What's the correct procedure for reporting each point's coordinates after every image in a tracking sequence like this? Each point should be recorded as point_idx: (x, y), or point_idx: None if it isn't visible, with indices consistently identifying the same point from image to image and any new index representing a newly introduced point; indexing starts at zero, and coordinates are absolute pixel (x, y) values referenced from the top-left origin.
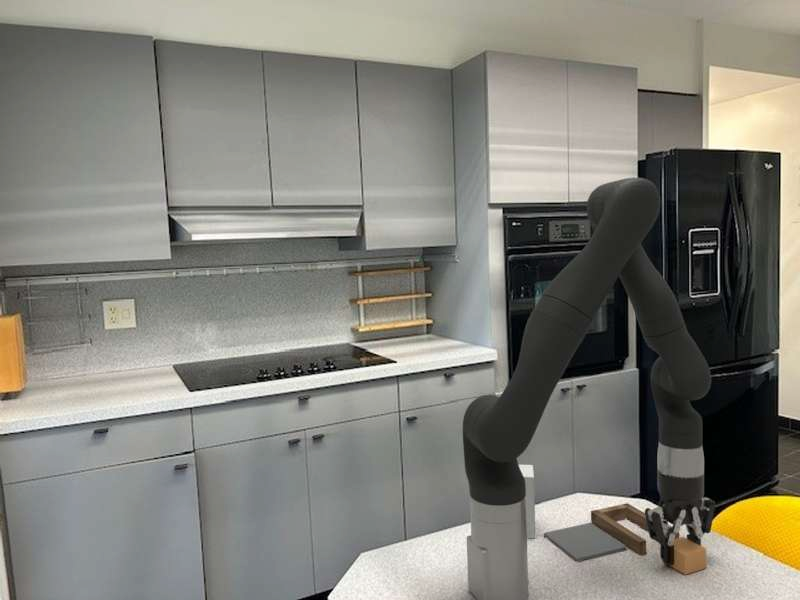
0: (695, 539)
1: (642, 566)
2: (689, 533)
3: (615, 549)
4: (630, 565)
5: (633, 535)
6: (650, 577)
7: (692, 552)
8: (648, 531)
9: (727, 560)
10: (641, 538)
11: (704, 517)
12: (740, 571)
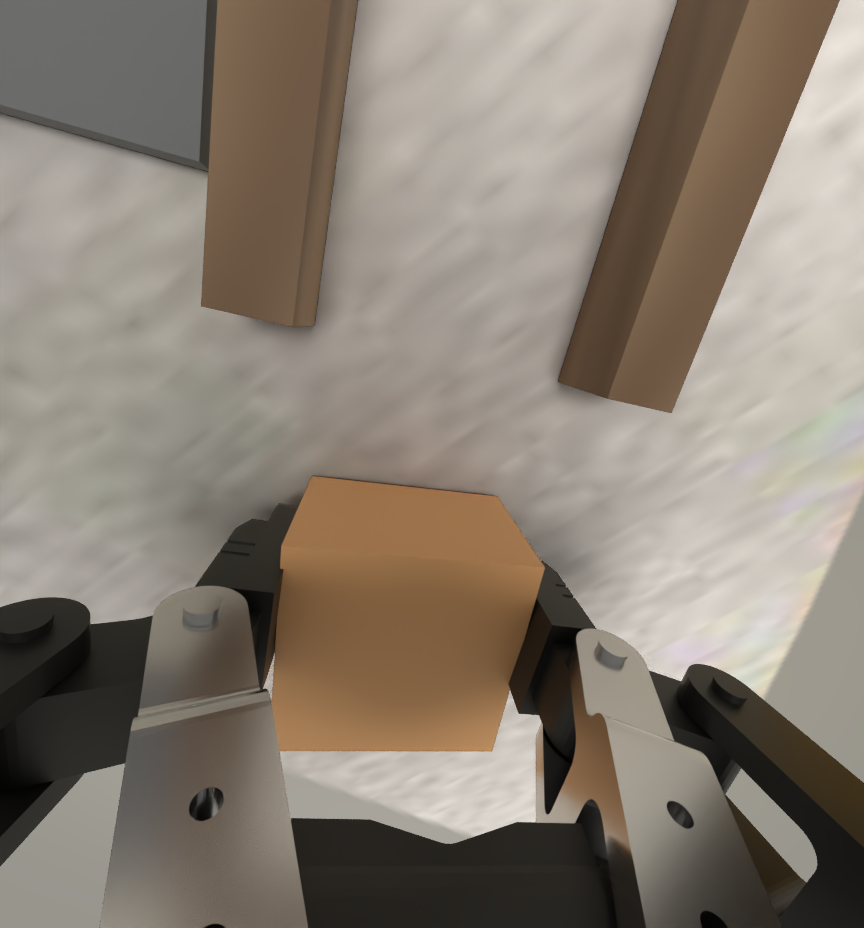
0: (520, 705)
1: (138, 432)
2: (560, 659)
3: (49, 120)
4: (57, 371)
5: (262, 148)
6: (85, 547)
7: (358, 745)
8: (655, 75)
9: (625, 637)
10: (285, 264)
11: (790, 924)
12: None
